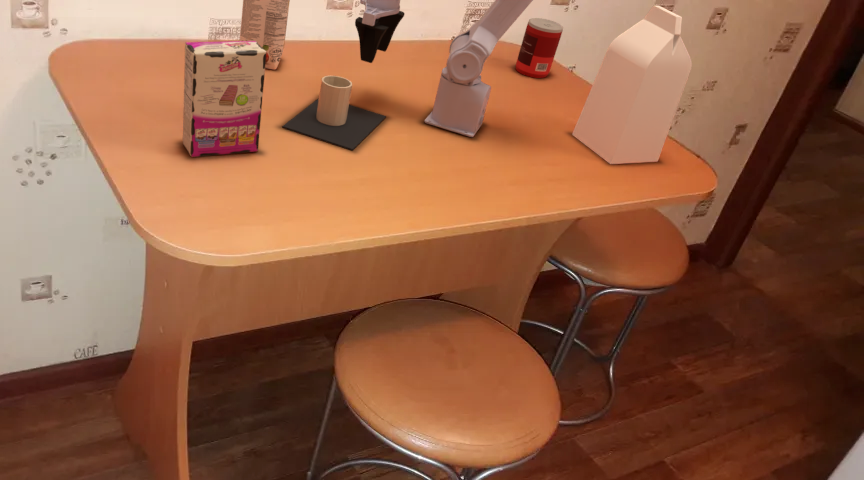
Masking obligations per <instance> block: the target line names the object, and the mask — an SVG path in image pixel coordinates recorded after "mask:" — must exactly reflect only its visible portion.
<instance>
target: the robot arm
mask: <svg viewBox="0 0 864 480" xmlns="http://www.w3.org/2000/svg"><path fill="white" fill-rule="evenodd" d="M533 1H534V0H494V2H492V4H491V5H490V6H489V7H488V8H487V10H486V11H485V12H484V13H483V15H482V16H481V17H480V19H478V20H477V21H476V22H474V23H473V24H472V25H471V26H470V27H469V28H468V29H467V30H466V31H465V32H462V33H460V34H458V35H456V36H455V37H454V38H453V39H452V41H451V43H450V46H449V51H448V52H449V55H448V58H447V60H446V66H445V67H443V68H442V69H441V72H440V77H439V81H438V86H437V90H436V93H435V98H434V102H433V103H434V104H433V107H432V111H431V112H430V113H429V114H428V115H427V117H426V118H425V119H424V121H423V122H424V123H425V124H427V125H430V126H433V127H437V128H440V129H444V130H447V131H450V132H452V133H456V134H459V135H463V136H466V137H468V138H474V136H476V133H477V132H478V130H479V129H480V128H481V127H482V125H483V122H484V119H485V114H486V110H487V106H488V102H489V99H490V95H491V92H492V86H491V85H489V84H487V83H485V82H483V81H482V75H481V74H482V73H483V70H484V65H485V62H486V61H487V60H488V58H489V57H490V56H491V54H492V53H493V51H494V49H495V47H496V46H497V44H498V42H499V41H500V40H501V38H502V37H503V36H504V35H505V34H506V32H507V31H508V30H509V29H510V28H511V27H512V26H513V24H515V22H516V21H517V19H519V17H520V16H521V15H522V14H523V12H524V11H526V9H527V8H528V7H529V6H530V4H531V3H532V2H533ZM359 4H360V5H364V11H363V15H362V17H361V16H358V17H356V18H355V19H354V20H355V21H354V26H355V28H356V31H357V35H358V39H359V57H360V61H362V62H366V63H368V64H369V63H370V64H373V62H374V61H375V58H376V56H377V52H378V51H381V52H384V53H385V52H386V51H387V50H388V49H389V46H390V43H391V41H392V38H393V37H394V34H395V31H396V29H397V27H398V25H399V24H400V22H401V21H402V19H403V18H404V17H405V12H404V11H402V10H401V5H400V4H401V0H359Z"/></svg>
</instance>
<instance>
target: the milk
mask: <svg viewBox="0 0 864 480" xmlns="http://www.w3.org/2000/svg"><path fill="white" fill-rule="evenodd" d="M682 22H683V17H682V16H681V15H679V14H677V13H675V12H673V11H671V10H668V9H666V8H665V7H663V6H661V5H653V6H652V7H651V8H650V9H649V11H648V12H647V13H646V14H645V16H644V17H643V19H641V20H639V21H638V22H636V23H634V25H632V26H631V27H629V28H628V29H626V30H625V31H623V32H622V33H620V34H619V35H618V36H616V37H615V38H614V39H613V40H612V41H611V42H610V44H609V45H608V47H607V50H606V51H605V55H604V57H603V59H602V61H601V64H600V67H599V69H598V71H597V74H596V76H595V78H594V80H593V83H592V86H591V88H590V90H589V93H588V94H587V96H586V100H585V102H584V105H583V106H582V110H581V111H580V115H579V117H578V119H577V121H576V124H575V126H574V129H573V131H572V134H571V135H572V137H574V138H576V139H577V140H578V141H580V142H581V143H582V144H583V145H585V147H588V149H590V150H591V151H593V152H594V153H595V154H597V156H599V157H600V158H601V159H603V160H604V161H606V162H607V163H608V164H610V165H618V164H620V165H622V164H637V163H639V164H640V163H655V162H656V163H658V162H659V159H660V157H661V153H662V151H663V148H664V145H665V143H666V140H667V137H668V135H669V131H670V129H671V126H672V123H673V121H674V118H675V115H676V113H677V110H678V107H679V104H680V101H681V99H682V97H683V94H684V90H685V88H686V85H687V82H688V79H689V77H690V74H691V71H692V69H693V67H692V66H693V62H692V57H691V55H690V53H689V51H688V48H687V47H686V45H685V42H684V41H683V38H682V36H681V35H682V34H681V31H682Z"/></svg>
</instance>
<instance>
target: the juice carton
mask: <svg viewBox="0 0 864 480" xmlns="http://www.w3.org/2000/svg"><path fill="white" fill-rule="evenodd" d="M290 1H291V0H242V10H241V21H240V34H239V41H256V42H257V43H258V44H259V45H260V46H261V47H262V48H263V49H264V50H265V51H266V64H265V69H269V70H277V69H278V66H279V65H280V62H281V59H282V57H283V53H284V51H285V50H284V49H285V45H286V44H285V43H286V35H287V28H288V27H287V26H288V19H289V10H290Z"/></svg>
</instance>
